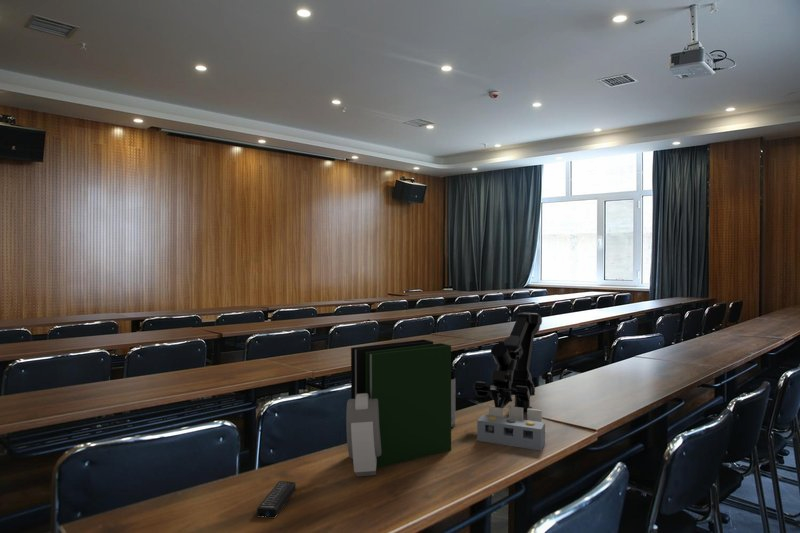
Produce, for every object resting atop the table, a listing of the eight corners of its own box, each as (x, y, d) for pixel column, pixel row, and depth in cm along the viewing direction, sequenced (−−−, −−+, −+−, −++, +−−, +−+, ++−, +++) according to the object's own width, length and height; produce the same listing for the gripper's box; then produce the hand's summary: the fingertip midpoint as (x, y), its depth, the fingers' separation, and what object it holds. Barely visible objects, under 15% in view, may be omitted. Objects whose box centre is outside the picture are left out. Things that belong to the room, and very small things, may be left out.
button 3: (527, 426, 164) (527, 408, 164) (541, 428, 162) (541, 410, 162) (523, 433, 157) (523, 414, 157) (537, 435, 155) (537, 416, 155)
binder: (373, 470, 137) (373, 354, 136) (349, 453, 149) (348, 347, 149) (451, 450, 152) (451, 345, 151) (422, 436, 164) (422, 339, 164)
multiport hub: (296, 490, 126) (296, 481, 126) (275, 520, 111) (275, 509, 111) (279, 489, 126) (279, 480, 126) (256, 518, 112) (256, 508, 112)
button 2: (509, 424, 166) (509, 406, 166) (523, 425, 164) (523, 407, 164) (504, 430, 160) (504, 412, 160) (518, 432, 158) (518, 414, 158)
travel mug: (455, 428, 171) (455, 370, 171) (436, 427, 172) (436, 369, 172) (457, 423, 177) (457, 366, 177) (438, 421, 178) (438, 366, 178)
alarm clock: (353, 454, 147) (349, 387, 146) (382, 452, 147) (378, 385, 146) (349, 483, 129) (344, 407, 128) (382, 481, 129) (377, 404, 128)
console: (483, 433, 166) (483, 413, 166) (545, 443, 157) (545, 421, 157) (477, 440, 159) (477, 419, 159) (541, 450, 151) (541, 428, 151)
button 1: (489, 424, 166) (489, 406, 166) (502, 426, 164) (502, 408, 164) (483, 431, 159) (483, 412, 159) (497, 433, 157) (497, 414, 157)
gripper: (474, 358, 175) (464, 397, 165) (528, 362, 167) (521, 404, 157) (481, 375, 182) (472, 414, 172) (532, 381, 174) (526, 421, 164)
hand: (497, 413), depth 166 cm, fingers closed
